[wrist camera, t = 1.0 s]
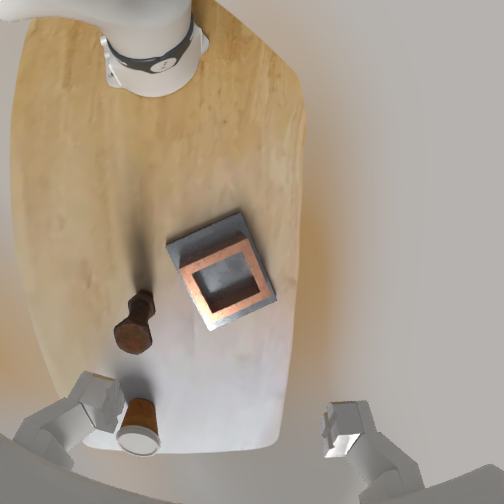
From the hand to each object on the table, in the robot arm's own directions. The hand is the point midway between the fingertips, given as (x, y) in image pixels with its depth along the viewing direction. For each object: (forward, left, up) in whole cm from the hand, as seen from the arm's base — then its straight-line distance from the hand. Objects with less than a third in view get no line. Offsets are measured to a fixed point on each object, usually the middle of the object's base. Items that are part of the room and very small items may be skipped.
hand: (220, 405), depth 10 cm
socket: (+10, +1, -42) cm, 43 cm away
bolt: (+8, -14, -42) cm, 45 cm away
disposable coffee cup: (+32, -30, -42) cm, 61 cm away
